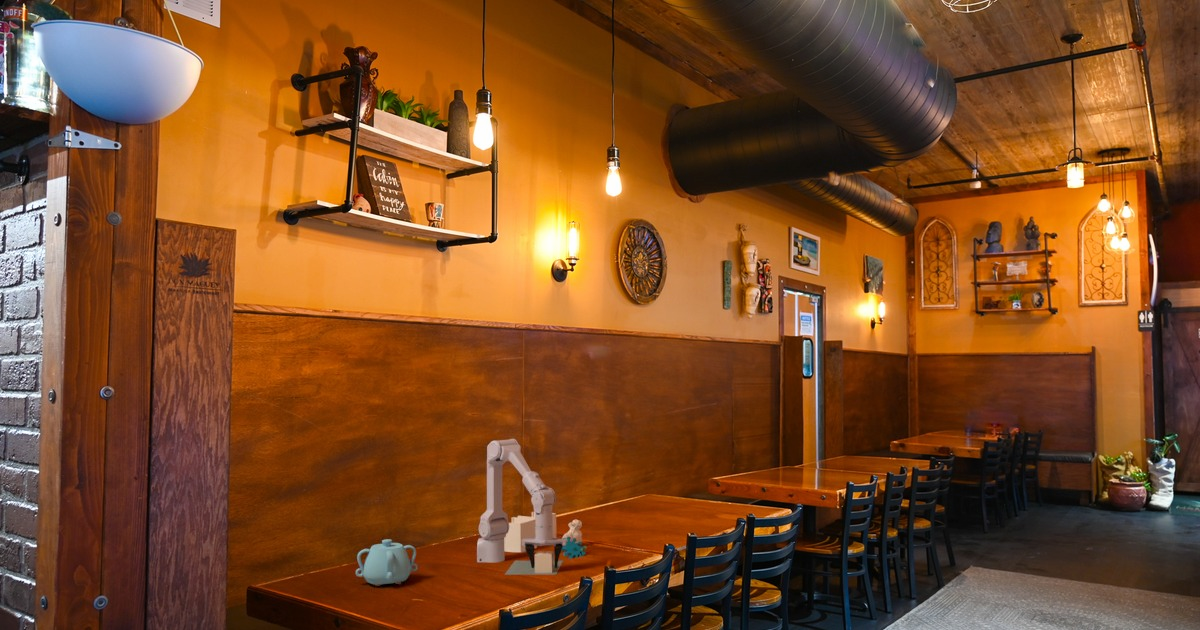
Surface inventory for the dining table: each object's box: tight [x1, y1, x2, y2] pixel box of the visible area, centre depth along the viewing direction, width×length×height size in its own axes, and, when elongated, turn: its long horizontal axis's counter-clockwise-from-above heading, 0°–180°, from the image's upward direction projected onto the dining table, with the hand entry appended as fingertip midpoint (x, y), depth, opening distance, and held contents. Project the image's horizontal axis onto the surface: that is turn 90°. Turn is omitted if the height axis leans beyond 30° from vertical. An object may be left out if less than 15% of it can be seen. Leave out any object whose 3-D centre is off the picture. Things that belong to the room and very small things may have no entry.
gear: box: [561, 537, 588, 560], centre depth 300 cm, size 11×6×10 cm
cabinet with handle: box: [534, 550, 555, 573], centre depth 276 cm, size 6×6×6 cm
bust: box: [562, 518, 583, 546], centre depth 321 cm, size 12×8×11 cm
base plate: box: [504, 560, 564, 576], centre depth 282 cm, size 17×20×1 cm
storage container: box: [504, 511, 557, 553], centre depth 324 cm, size 25×11×11 cm, turn 151°
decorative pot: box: [355, 538, 419, 586], centre depth 270 cm, size 16×16×14 cm
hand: (544, 567), depth 276 cm, fingers open, 7 cm apart
